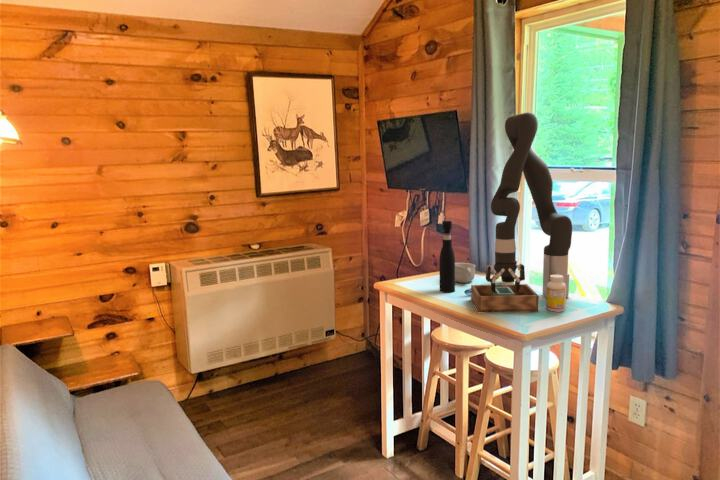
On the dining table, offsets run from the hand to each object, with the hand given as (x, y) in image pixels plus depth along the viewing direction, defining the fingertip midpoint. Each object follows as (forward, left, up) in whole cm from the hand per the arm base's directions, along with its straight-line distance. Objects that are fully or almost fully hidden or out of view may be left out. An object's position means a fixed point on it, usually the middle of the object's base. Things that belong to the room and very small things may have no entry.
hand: (505, 291), depth 206 cm
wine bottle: (+20, -22, -6) cm, 30 cm away
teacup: (+11, -36, -6) cm, 38 cm away
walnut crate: (+1, 0, -6) cm, 6 cm away
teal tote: (+1, 0, -5) cm, 5 cm away
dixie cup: (-8, -33, -6) cm, 35 cm away
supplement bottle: (-17, +6, -6) cm, 19 cm away
